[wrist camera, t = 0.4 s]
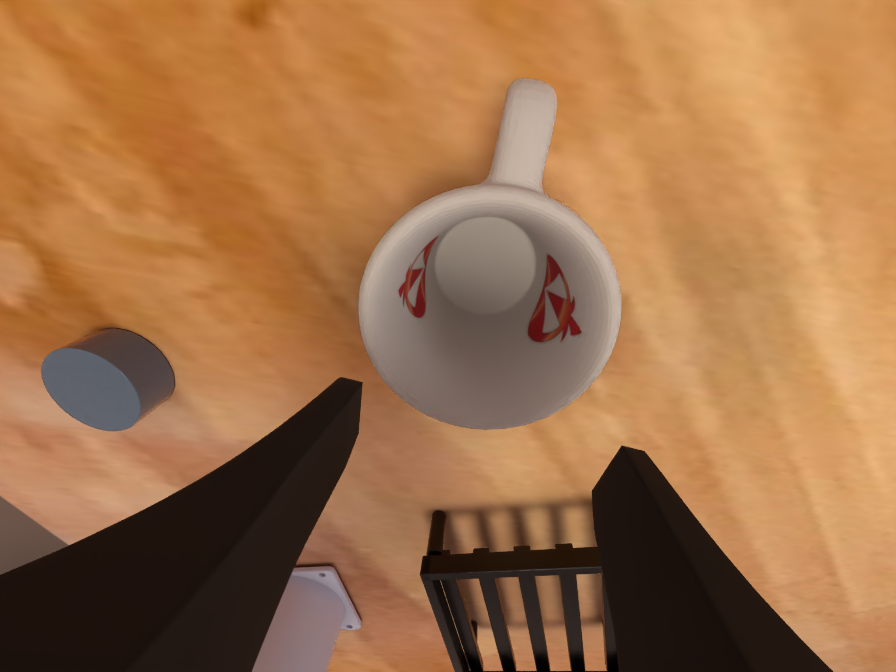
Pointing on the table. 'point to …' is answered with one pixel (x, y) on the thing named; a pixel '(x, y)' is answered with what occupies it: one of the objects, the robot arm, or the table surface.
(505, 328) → the cup
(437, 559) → the rack
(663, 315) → the table surface
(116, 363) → the glossy blue puck
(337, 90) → the table surface
